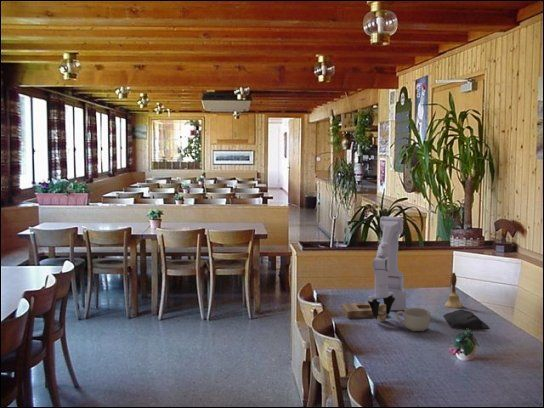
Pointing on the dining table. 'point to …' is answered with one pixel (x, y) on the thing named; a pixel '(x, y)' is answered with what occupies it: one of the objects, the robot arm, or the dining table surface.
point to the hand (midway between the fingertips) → (381, 314)
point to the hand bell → (453, 295)
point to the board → (357, 310)
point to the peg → (381, 312)
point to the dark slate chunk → (464, 320)
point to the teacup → (415, 318)
